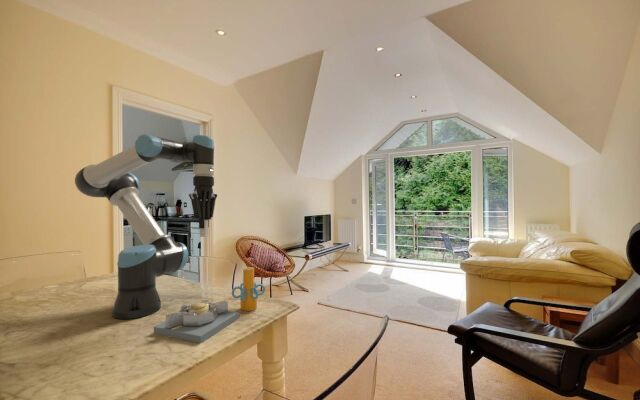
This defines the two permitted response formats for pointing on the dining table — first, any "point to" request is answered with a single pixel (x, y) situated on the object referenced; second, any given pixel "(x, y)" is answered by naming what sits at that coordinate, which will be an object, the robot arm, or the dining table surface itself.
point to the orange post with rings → (248, 290)
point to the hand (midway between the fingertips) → (204, 236)
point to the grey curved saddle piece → (196, 315)
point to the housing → (201, 331)
